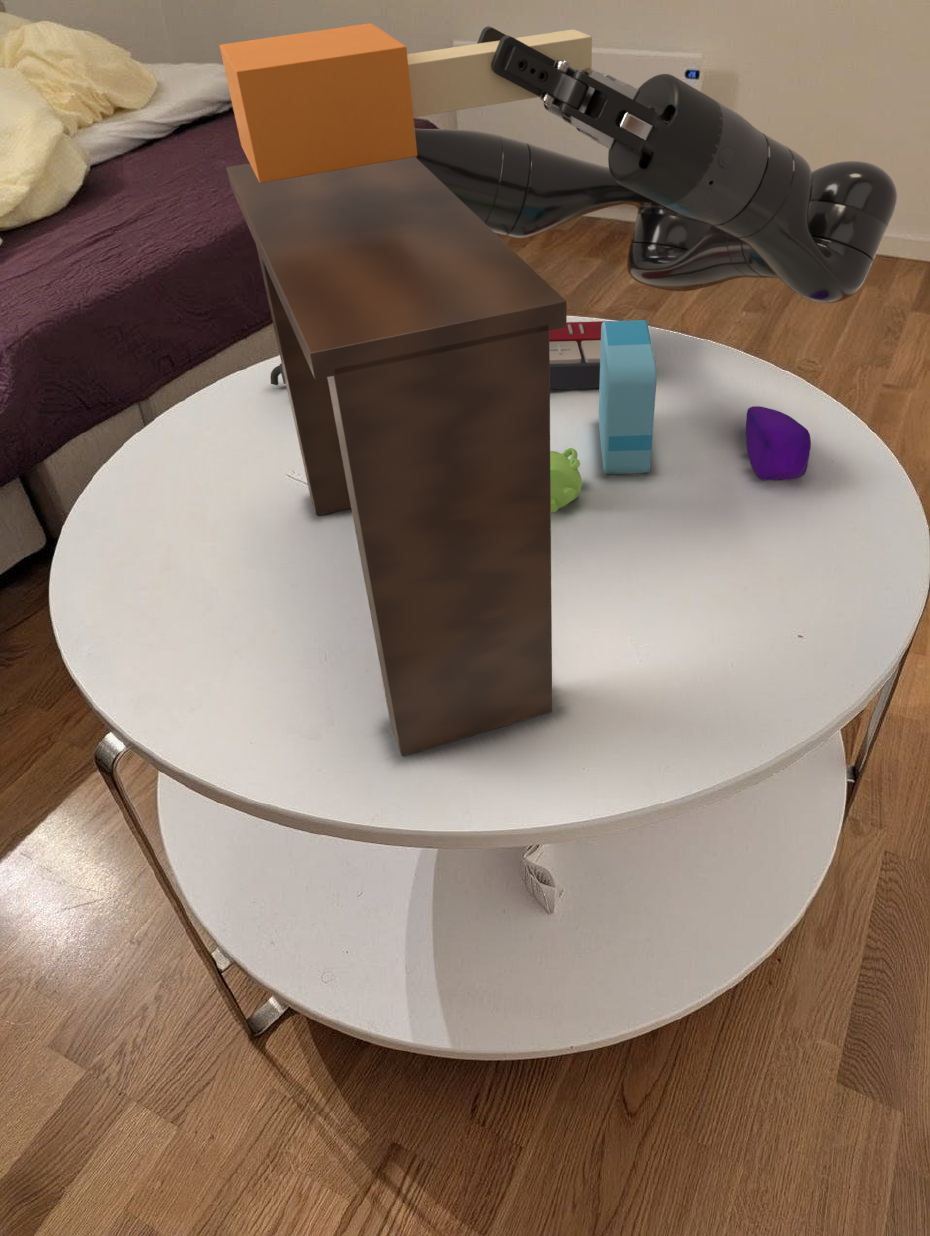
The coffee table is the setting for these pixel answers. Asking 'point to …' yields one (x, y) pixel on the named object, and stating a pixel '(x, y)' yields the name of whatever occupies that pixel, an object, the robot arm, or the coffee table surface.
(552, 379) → the calculator
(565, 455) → the whimsical teapot
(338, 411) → the shelf
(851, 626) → the coffee table surface
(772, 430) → the crystal
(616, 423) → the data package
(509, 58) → the robot arm
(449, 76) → the toy hammer
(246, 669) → the coffee table surface
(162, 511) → the coffee table surface
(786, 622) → the coffee table surface
